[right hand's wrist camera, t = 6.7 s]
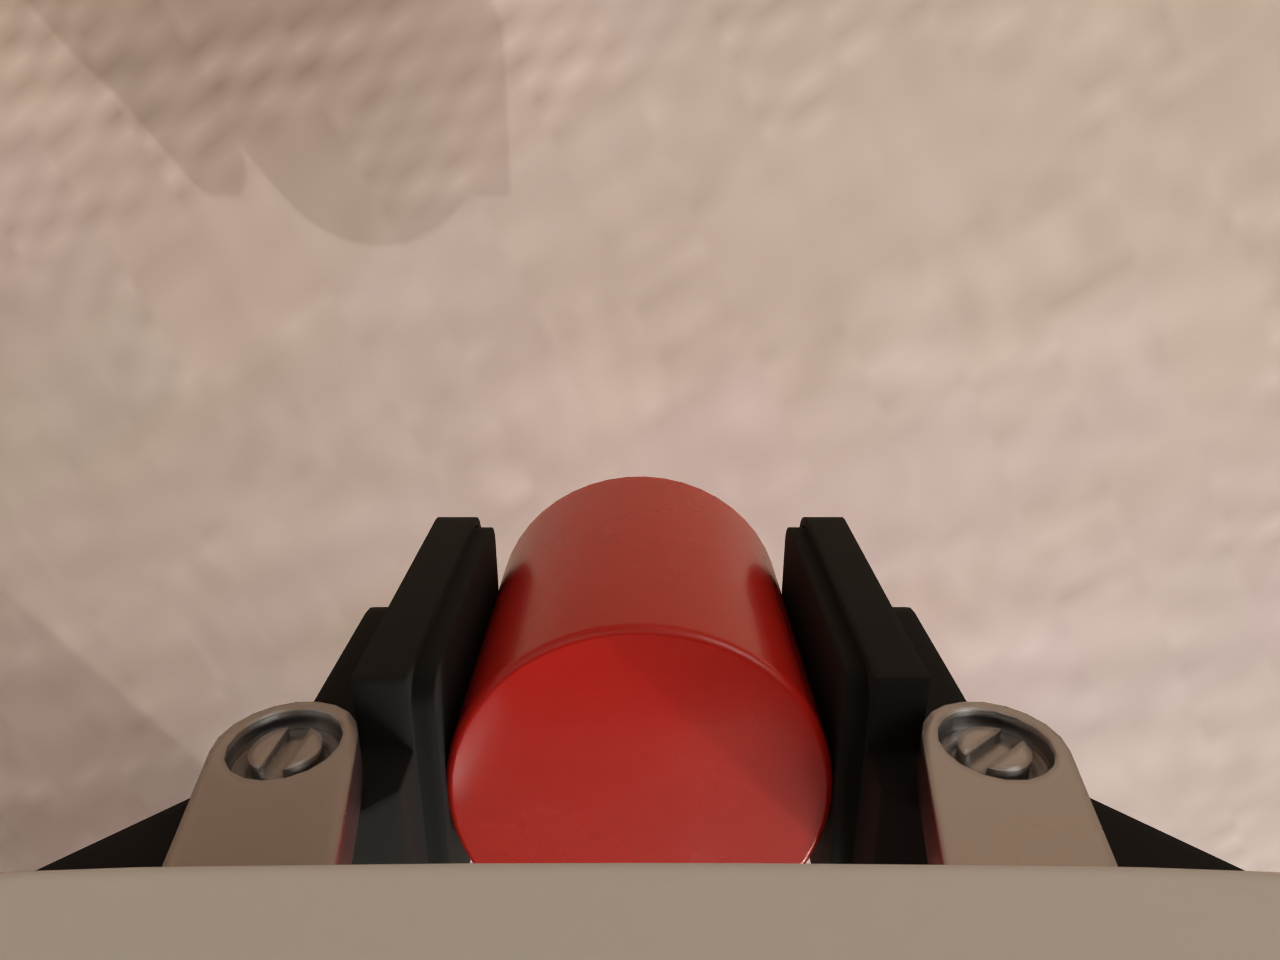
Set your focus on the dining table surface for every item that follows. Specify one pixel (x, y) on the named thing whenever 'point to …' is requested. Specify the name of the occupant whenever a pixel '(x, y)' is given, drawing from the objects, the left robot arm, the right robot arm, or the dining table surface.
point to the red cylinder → (639, 693)
